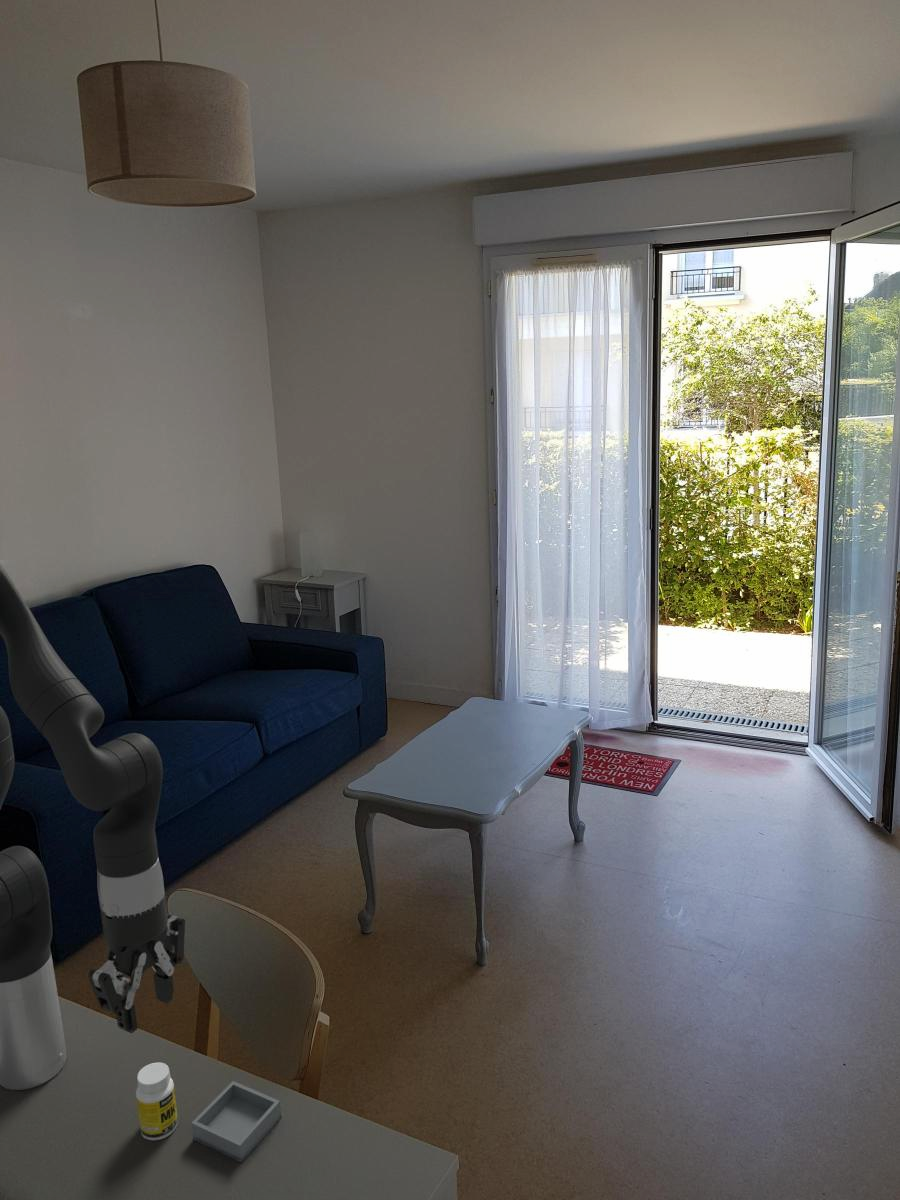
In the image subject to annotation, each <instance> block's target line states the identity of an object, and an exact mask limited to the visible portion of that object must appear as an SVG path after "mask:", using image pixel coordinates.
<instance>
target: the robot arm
mask: <svg viewBox="0 0 900 1200" xmlns="http://www.w3.org/2000/svg"><path fill="white" fill-rule="evenodd" d="M0 636H1V638H2V639H3V641H4V643H5V646H6V647H5V648H6V652H7V659H8V660H7V662H8V678H9V684H10V690H11V691H12V695H13V697H14V700H15V702H16V704H17V706H19V708H20V710H21V711H22V712H23V713H24V715H25V716H26V717H27V719H28V720H29V721H30V722H31V723H32V724H33V725H34V727H36V729H37V730H38V731H39V732H40V733H41V735H42V736H43V737H44V738H45V739H46V740H47V742H48V744H49V745H50V746H49V747H50V748H51V750H52V752H53V755H54V757H55V759H56V761H57V763H58V764H59V765H58V766H59V767H60V770H61V773H62V774H63V778H64V781H65V783H66V785H67V787H68V789H69V791H70V793H71V795H72V796H73V798H74V799H75V800H76V801H77V802H78V804H80V805H82V806H83V807H85V808H87V809H89V810H90V811H95V812H104V811H108V810H109V811H108V812H107V813H106V814H105V815H104V816H103V817H102V818H101V819H100V820H98V822H97V824H95V827H94V828H93V840H92V841H93V848H94V854H95V855H94V856H95V862H96V871H97V883H96V884H97V885H96V886H97V895H98V901H99V908H100V915H101V916H100V917H101V924H102V931H103V936H104V938H105V941H106V943H107V945H108V953H107V956H106V957H107V958H106V959H107V960H106V962H104V964H103V965H102V966H101V967H99V969H97V968H92V969H90V970H89V972H88V973H87V974H88V975H87V977H88V981H89V983H90V985H91V988H92V991H93V994H94V996H95V998H96V1002H97V1004H98V1007H99V1009H102V1010H105V1011H107V1012H110V1013H111V1014H114V1015H115V1016H116V1022H117V1023H116V1024H117V1027H118V1028H119V1029H120V1030H123V1031H125V1032H128V1033H130V1034H133V1033H135V1032H136V1031H137V1030H138V1021H137V1014H136V1006H135V1004H134V999H135V995H136V990H137V989H139V987H140V984H141V978H142V975H144V973H145V972H146V970H147V969H149V968H151V969H152V970H153V971H154V972H155V973H154V974H153V981H154V982H153V983H154V990H155V991H154V992H155V997H156V999H157V1001H159V1002H160V1003H164V1004H167V1005H169V1003H171V1002H172V1000H174V999H173V995H174V992H175V989H174V982H173V980H174V979H173V974H174V972H175V967H176V965H180V964H182V962H183V961H184V957H185V955H184V953H185V932H186V929H185V928H186V920H185V919H184V918H182V917H179V916H176V915H173V914H170V913H168V911H167V910H168V909H167V902H166V893H165V892H166V891H165V886H164V885H165V884H164V875H163V870H162V867H161V862H160V859H159V852H158V843H157V835H156V821H157V817H158V811H159V805H160V799H161V798H160V797H161V792H162V788H163V787H162V785H163V779H164V778H163V777H164V774H163V773H164V772H163V771H164V770H163V769H164V768H163V761H162V757H161V755H160V752H159V750H158V747H157V746H156V745H155V743H154V742H153V741H152V740H151V739H150V738H149V737H147V736H145V734H141V733H136V732H132V733H128V734H123V735H121V736H118V737H117V738H114V739H112V740H110V741H107V742H106V743H104V744H102V745H99V746H97V747H95V746H94V745H93V744H92V743H91V741H90V739H91V737H93V736H94V735H95V734H96V733H97V732H98V731H99V730H100V728H101V727H102V725H103V723H104V721H105V712H104V709H103V707H102V706H101V705H100V703H99V702H98V701H97V700H96V698H95V697H94V696H93V695H92V694H91V692H90V691H89V690H88V688H86V687H85V686H84V684H82V682H80V680H79V679H78V678H77V677H76V675H75V674H74V673H73V672H72V671H71V670H70V669H69V668H68V667H67V665H66V664H65V662H64V661H63V660H62V659H61V657H60V656H59V655H58V654H57V652H56V651H55V649H54V648H53V646H52V644H51V643H50V642H49V640H48V638H47V637H46V635H45V633H44V631H43V629H42V627H41V626H40V624H39V623H38V621H37V620H36V618H35V616H34V614H33V613H32V611H31V609H30V608H29V606H28V603H26V601H25V600H24V597H22V595H21V593H20V591H19V590H18V588H17V586H16V585H15V583H14V582H13V580H12V578H11V577H10V575H9V574H8V572H7V571H6V570H5V569H4V567H3V566H2V564H1V563H0ZM15 761H16V760H15V752H14V745H13V737H12V732H11V725H10V720H9V718H8V716H7V713H6V712H5V710H4V709H3V707H2V706H1V705H0V810H1V809H2V806H3V804H4V801H5V798H6V796H7V794H8V791H9V788H10V786H11V783H12V779H13V775H14V771H15ZM50 899H51V897H50V888H49V883H48V876H47V874H46V870H45V867H44V865H43V864H42V862H41V860H40V859H39V857H38V856H37V855H36V853H34V851H32V850H31V849H30V848H28V847H25V846H22V845H12V846H10V847H8V848H6V849H5V848H4V849H3V850H1V851H0V1086H1V1087H3V1088H5V1089H7V1090H12V1091H21V1090H22V1091H23V1090H29V1089H32V1088H36V1087H38V1086H41V1085H43V1084H45V1083H47V1082H48V1081H49V1080H52V1078H54V1077H55V1076H56V1075H58V1073H60V1072H61V1070H62V1069H63V1068H64V1067H65V1064H66V1062H67V1058H68V1057H67V1055H68V1054H67V1048H66V1042H65V1041H66V1040H65V1035H64V1028H63V1020H62V1014H61V1007H60V1001H59V996H58V987H57V981H56V974H55V970H54V962H53V958H52V957H53V956H52V951H51V943H52V939H53V931H54V930H53V919H52V912H51V911H52V909H51V900H50ZM173 947H174V950H173ZM125 976H127V977H125ZM128 977H129V978H128ZM123 990H124V991H123ZM123 992H124V995H123Z"/></svg>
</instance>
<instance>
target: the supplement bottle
mask: <svg viewBox="0 0 900 1200" xmlns="http://www.w3.org/2000/svg"><path fill="white" fill-rule="evenodd" d="M136 1079H137V1080H136V1081H137V1088H136V1091H135V1098H136V1104H137V1112H138V1113H137V1114H138V1121H139V1130H140V1133H141V1136H142V1138H144V1139H145V1140H149V1141H160V1140H163V1139H166V1138H167V1137H168V1136H170V1135H171V1134H173V1133H174V1131H175V1130H176V1128H177V1126H178V1122H179V1120H178V1111H177V1101H176V1091H175V1084H174V1080H173V1078H172V1077H171V1072H170V1068H169V1066H168V1065H167V1064H166V1063H164V1062H153V1063H149V1064H147V1065H145V1066H143V1067H142V1068H140V1070H139V1072H138V1073H137V1077H136Z"/></svg>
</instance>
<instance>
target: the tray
mask: <svg viewBox="0 0 900 1200" xmlns="http://www.w3.org/2000/svg"><path fill="white" fill-rule="evenodd" d="M281 1119H282V1108H281V1101H280V1100H278V1099H277V1098H274V1097H271V1096H269V1095H267V1094H265V1093H262V1092H261V1091H257V1090H255V1089H253V1088H250V1087H248V1086H246V1085H243V1084H241V1083H239V1082H236V1081H234V1080H233V1081H231V1083H229V1085H227V1086H226V1087H225V1088H224V1089H223V1090H222V1092H220V1093H219V1094H218V1095H217V1096H216V1097H215V1098H214V1099H213V1100H212V1101H211V1102H210V1103H209V1104H208V1106H207V1107H205V1108H204V1109H203V1111H202V1112H200V1113H199V1114H198V1115H197V1116H196V1117H195V1119H194V1120H193V1121H191V1123H190V1124H191V1131H192V1133H191V1134H192V1140H193V1141H195V1142H198V1143H199V1144H202V1145H204V1146H205V1147H208V1148H210V1149H212V1150H214V1151H216V1152H218V1153H220V1154H223V1155H225V1156H227V1157H228V1158H231V1159H233V1160H235V1161H237V1162H239V1163H243V1162H244V1161H245V1160H246V1158H248V1156H250V1154H251V1153H252V1152H253V1151H254V1149H256V1147H257V1146H258V1145H259V1144H260V1143H261V1141H262V1140H263V1139H264V1138H265V1137H266V1136H267V1135H268V1134H269V1132H271V1130H272V1129H273V1128H274V1127H275V1125H277V1123H278V1122H279V1121H280V1120H281Z"/></svg>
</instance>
